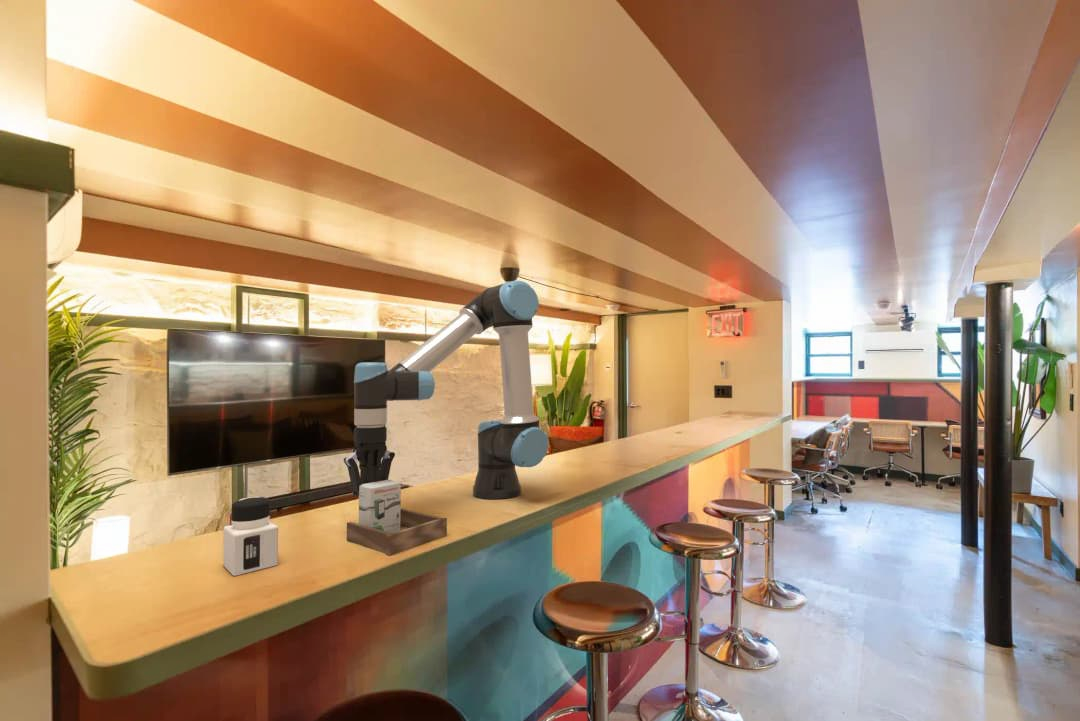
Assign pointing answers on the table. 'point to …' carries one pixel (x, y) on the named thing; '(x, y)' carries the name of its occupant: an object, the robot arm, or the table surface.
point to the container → (250, 537)
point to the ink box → (380, 505)
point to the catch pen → (399, 533)
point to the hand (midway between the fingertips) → (369, 524)
